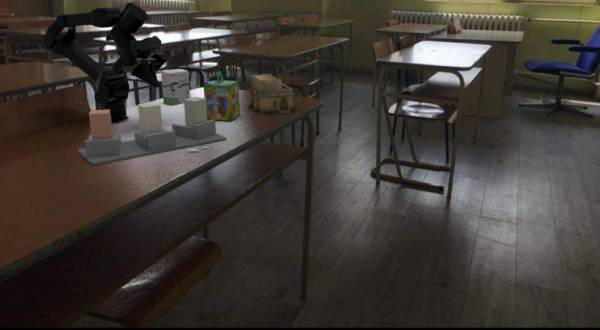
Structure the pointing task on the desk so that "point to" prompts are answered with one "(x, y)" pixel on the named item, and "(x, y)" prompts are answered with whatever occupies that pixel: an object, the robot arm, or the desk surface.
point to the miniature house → (270, 94)
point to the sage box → (195, 111)
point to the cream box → (150, 118)
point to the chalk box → (222, 99)
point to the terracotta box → (100, 124)
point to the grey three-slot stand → (149, 143)
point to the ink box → (175, 86)
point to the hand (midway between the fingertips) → (157, 86)
